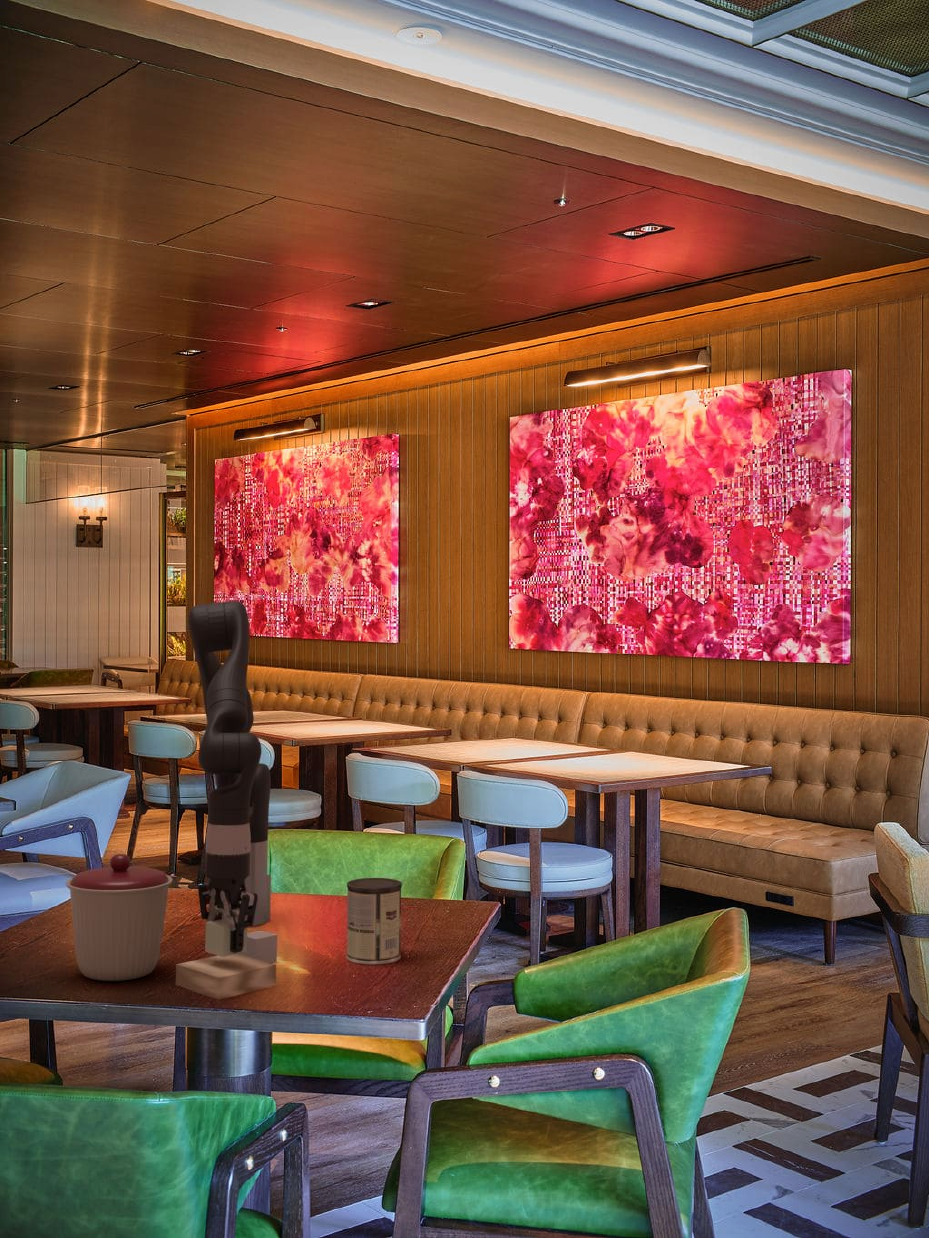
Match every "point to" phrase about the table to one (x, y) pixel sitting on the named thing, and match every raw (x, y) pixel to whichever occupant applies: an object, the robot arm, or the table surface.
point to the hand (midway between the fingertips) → (226, 948)
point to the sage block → (221, 938)
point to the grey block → (261, 946)
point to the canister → (118, 919)
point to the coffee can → (373, 920)
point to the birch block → (225, 975)
